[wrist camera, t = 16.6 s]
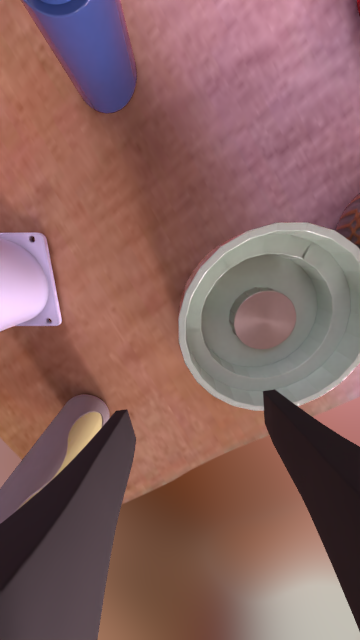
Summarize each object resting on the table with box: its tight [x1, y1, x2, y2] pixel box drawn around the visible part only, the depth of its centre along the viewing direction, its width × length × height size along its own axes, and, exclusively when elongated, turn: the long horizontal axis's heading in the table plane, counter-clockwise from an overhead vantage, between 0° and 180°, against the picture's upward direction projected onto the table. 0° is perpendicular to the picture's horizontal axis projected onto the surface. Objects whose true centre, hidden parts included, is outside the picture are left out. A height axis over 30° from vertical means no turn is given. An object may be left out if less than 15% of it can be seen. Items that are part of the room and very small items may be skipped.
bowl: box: [179, 222, 360, 411], centre depth 16 cm, size 14×14×4 cm
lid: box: [229, 287, 296, 349], centre depth 17 cm, size 5×5×2 cm
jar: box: [21, 0, 137, 113], centre depth 10 cm, size 4×4×8 cm
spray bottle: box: [0, 394, 110, 524], centre depth 12 cm, size 5×5×20 cm
